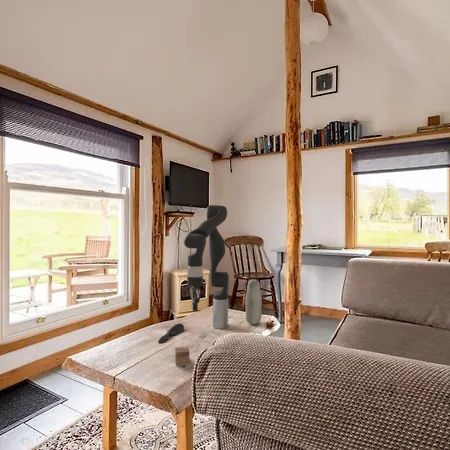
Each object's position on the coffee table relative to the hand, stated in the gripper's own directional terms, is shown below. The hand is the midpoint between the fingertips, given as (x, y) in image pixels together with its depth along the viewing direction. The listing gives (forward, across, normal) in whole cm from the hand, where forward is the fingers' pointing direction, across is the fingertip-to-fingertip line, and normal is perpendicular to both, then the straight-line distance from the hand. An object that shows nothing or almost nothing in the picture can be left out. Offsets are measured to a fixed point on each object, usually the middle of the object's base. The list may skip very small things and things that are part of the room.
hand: (195, 310), depth 154 cm
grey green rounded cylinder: (+22, +32, -45) cm, 59 cm away
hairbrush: (+22, +27, +8) cm, 36 cm away
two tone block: (+15, -8, +8) cm, 19 cm away
